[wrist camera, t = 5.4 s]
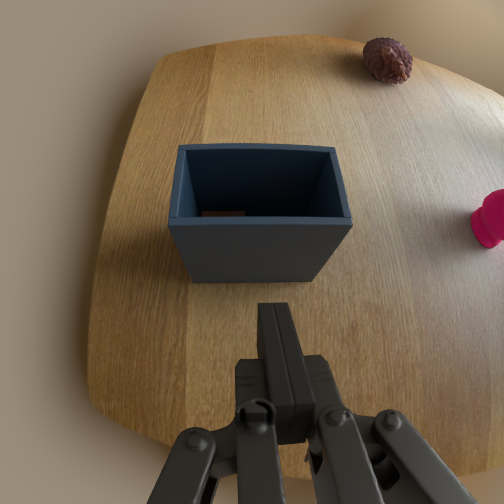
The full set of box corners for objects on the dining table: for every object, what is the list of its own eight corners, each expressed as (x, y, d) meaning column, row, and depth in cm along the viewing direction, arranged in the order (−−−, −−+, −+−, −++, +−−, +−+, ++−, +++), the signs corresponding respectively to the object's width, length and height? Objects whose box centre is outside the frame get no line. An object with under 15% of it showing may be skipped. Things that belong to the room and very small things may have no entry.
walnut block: (245, 266, 29) (246, 250, 26) (204, 266, 29) (200, 250, 25) (244, 230, 31) (245, 210, 27) (205, 230, 31) (201, 211, 27)
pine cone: (341, 50, 50) (368, 21, 44) (372, 75, 55) (397, 49, 48) (371, 72, 39) (406, 36, 33) (405, 105, 44) (438, 73, 37)
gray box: (312, 281, 30) (353, 225, 19) (192, 283, 29) (167, 225, 18) (305, 220, 32) (334, 147, 21) (196, 221, 32) (178, 144, 21)
